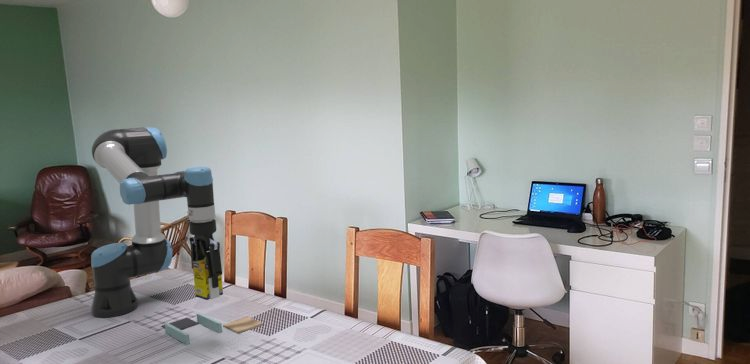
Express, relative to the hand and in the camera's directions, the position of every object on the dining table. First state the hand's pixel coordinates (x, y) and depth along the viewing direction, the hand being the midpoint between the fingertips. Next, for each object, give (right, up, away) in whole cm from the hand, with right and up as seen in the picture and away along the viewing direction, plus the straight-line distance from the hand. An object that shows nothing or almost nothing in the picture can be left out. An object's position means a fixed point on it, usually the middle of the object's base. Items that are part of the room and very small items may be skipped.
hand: (208, 295), depth 166 cm
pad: (+7, -13, +14) cm, 20 cm away
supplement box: (0, 0, 0) cm, 1 cm away
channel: (-8, -14, +10) cm, 19 cm away
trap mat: (-14, -13, +16) cm, 25 cm away
